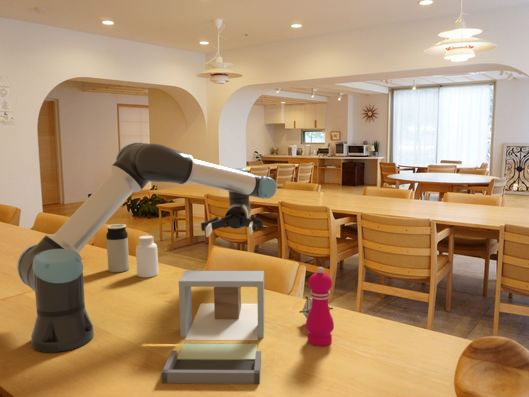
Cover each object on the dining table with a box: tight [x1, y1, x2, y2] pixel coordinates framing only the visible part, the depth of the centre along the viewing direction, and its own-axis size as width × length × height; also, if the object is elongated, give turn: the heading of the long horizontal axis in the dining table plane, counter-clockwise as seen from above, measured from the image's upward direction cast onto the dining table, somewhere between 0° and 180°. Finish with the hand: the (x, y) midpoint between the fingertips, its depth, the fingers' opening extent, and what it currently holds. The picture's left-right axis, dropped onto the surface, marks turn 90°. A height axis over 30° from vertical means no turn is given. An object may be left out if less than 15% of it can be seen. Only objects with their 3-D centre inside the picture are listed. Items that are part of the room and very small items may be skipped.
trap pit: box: [161, 350, 262, 385], centre depth 107 cm, size 10×21×2 cm, turn 89°
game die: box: [299, 295, 334, 319], centre depth 133 cm, size 9×8×10 cm
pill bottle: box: [135, 235, 159, 279], centre depth 178 cm, size 8×8×15 cm
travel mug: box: [105, 223, 130, 274], centre depth 185 cm, size 8×8×18 cm
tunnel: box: [178, 270, 265, 341], centre depth 133 cm, size 26×22×16 cm
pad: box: [177, 342, 258, 360], centre depth 118 cm, size 12×19×1 cm, turn 89°
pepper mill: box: [305, 266, 335, 347], centre depth 121 cm, size 7×7×20 cm
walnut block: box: [213, 287, 242, 319], centre depth 139 cm, size 9×7×11 cm
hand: (228, 231), depth 145 cm, fingers open, 13 cm apart
